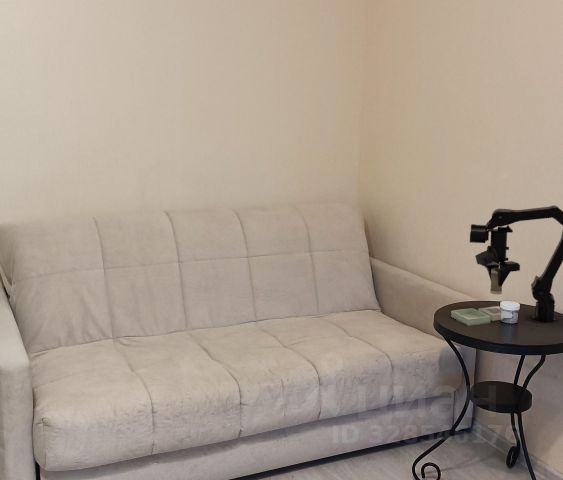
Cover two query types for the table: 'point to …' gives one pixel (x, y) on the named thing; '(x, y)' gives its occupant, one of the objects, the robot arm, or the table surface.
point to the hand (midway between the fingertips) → (496, 284)
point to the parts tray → (470, 317)
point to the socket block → (492, 312)
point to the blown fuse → (495, 282)
